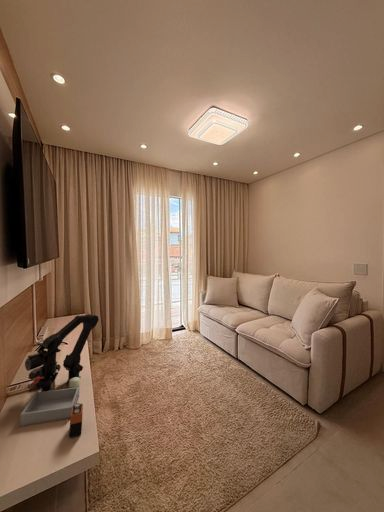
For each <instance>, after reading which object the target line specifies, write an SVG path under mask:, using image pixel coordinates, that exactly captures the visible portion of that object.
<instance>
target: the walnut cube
mask: <svg viewBox="0 0 384 512" xmlns="http://www.w3.org/2000/svg"><path fill="white" fill-rule="evenodd" d="M51 390H56V380H55V381H53V383H52V385H51V387H50V390H49V391H51ZM40 392H43V389H42V388H40Z"/></svg>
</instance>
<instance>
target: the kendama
mask: <svg viewBox="0 0 384 512" xmlns="http://www.w3.org/2000/svg"><path fill="white" fill-rule="evenodd" d="M43 378H44V377H40V376H39V377H36V378H34V379H32V381H33V385H34V386H35V384H36V383H37V381H38V380H39V379H43Z"/></svg>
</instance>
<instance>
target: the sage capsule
mask: <svg viewBox="0 0 384 512" xmlns="http://www.w3.org/2000/svg"><path fill="white" fill-rule="evenodd" d="M80 385H81V378H79V377H74V378H71V379H70V380H69V384H68V388H76V387H81V386H80Z"/></svg>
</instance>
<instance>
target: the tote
mask: <svg viewBox="0 0 384 512" xmlns="http://www.w3.org/2000/svg"><path fill="white" fill-rule="evenodd" d="M80 387H81V386H80ZM80 387H76V388H69V387H68V388H62V389H60V388H59V389H55V390H51V391H43V392H41V391H36V392H35V393H34V395H33V396H32V397H31V399H30V401H29V402H28V403H27V405H26V406H25V408H24V409H23V411H22V412H21V413H20V418H19V427H25V426H32V425H38V424H42V423H49V422H50V423H51V422H57V421H63V420H64V421H65V420H70V415H71V409H72V406H73V405H75V404H76V403H77V402H78V401H79V397H80Z"/></svg>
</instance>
